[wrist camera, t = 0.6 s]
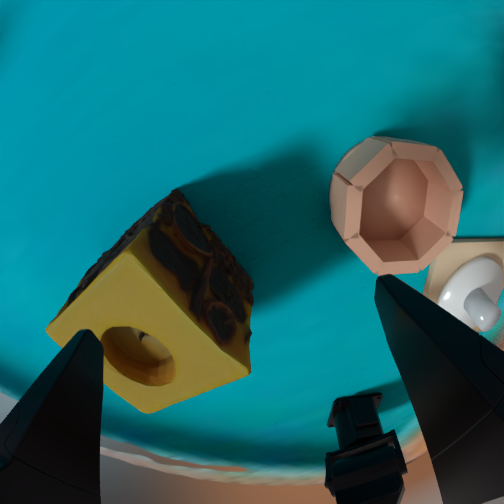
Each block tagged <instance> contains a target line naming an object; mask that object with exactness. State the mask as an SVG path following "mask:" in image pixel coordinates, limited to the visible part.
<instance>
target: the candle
mask: <svg viewBox="0 0 504 504" xmlns="http://www.w3.org/2000/svg"><path fill="white" fill-rule="evenodd" d="M253 289H254V285H253V281H252V279H251V278H250V277H249V275H248V274H247V273H246V272H245V271H244V269H243V268H242V267H241V266H240V265H239V263H238V262H237V261H236V259H235V257H234V256H233V255H232V254H231V252H230V251H229V250H228V249H227V247H226V246H225V245H224V244H223V243H222V242H221V240H220V238H219V237H218V236H217V235H216V234H215V232H213V231H211V228H210V226H208V225H203V224H201V223H200V222H199V221H198V219H197V217H196V216H195V214H194V212H193V211H192V210H191V208H190V205H189V202H188V201H187V200H186V199H185V197H184V195H183V194H182V193H181V192H180V191H179V190H178V189H174V190H172V191H171V193H170V194H169V195H168V196H167V197H165V198H164V199H162V200H161V201H159V202H158V203H157V204H155V205H154V207H152V208H150V209H149V210H148V211H147V212H146V213H145V214H144V215H143V216H142V217H141V218H140V219H139V220H138V221H136V222H135V223H134V224H133V225H132V227H130V228H129V229H128V230H126V231H125V234H124V235H122V236H121V238H120V239H119V240H118V241H117V242H116V243H115V244H114V246H113V247H112V248H111V249H110V250H109V251H107V252H104V253H103V254H102V256H101V257H100V258H99V259H98V260H97V263H95V264H94V265H93V266H92V267H90V268H89V269H88V271H87V272H86V273H85V275H84V277H83V278H82V279H81V281H80V282H79V284H78V286H77V288H76V289H75V290H74V291H73V292H72V293H71V294H70V296H69V298H68V300H67V301H66V303H65V304H64V306H63V307H62V308H61V309H60V310H59V312H58V314H57V316H56V317H55V318H54V319H53V320H52V321H51V322H50V323H49V325H48V326H47V328H46V329H45V331H46V332H47V334H48V335H49V336H50V337H51V338H52V339H53V340H54V341H55V342H56V343H57V344H58V345H59V346H61V347H62V348H63V347H64V346H65V345H66V344H67V343H68V342H69V340H70V339H71V338H72V337H73V336H74V335H75V334H76V333H77V332H78V331H79V330H82V329H90V330H92V332H93V333H94V334H95V335H96V337H97V338H98V339H99V340H100V342H101V343H102V345H103V347H104V372H103V383H104V384H105V385H107V386H108V387H109V388H110V389H112V390H113V391H114V392H115V393H116V394H118V395H119V396H120V397H122V398H123V399H125V400H126V401H127V402H129V403H130V404H132V405H133V406H134V407H136V408H137V409H139V410H140V411H141V412H144V413H147V414H149V413H153V412H157V411H159V410H161V409H163V408H166V407H168V406H170V405H172V404H175V403H178V402H181V401H183V400H186V399H189V398H191V397H194V396H196V395H199V394H201V393H204V392H206V391H209V390H211V389H214V388H217V387H220V386H222V385H225V384H228V383H230V382H233V381H235V380H238V379H240V378H243V377H245V376H248V375H249V374H250V373H251V364H250V351H249V343H250V336H251V334H252V332H251V330H250V317H251V312H252V306H253V303H254V300H253V295H252V292H251V291H252V290H253Z"/></svg>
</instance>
